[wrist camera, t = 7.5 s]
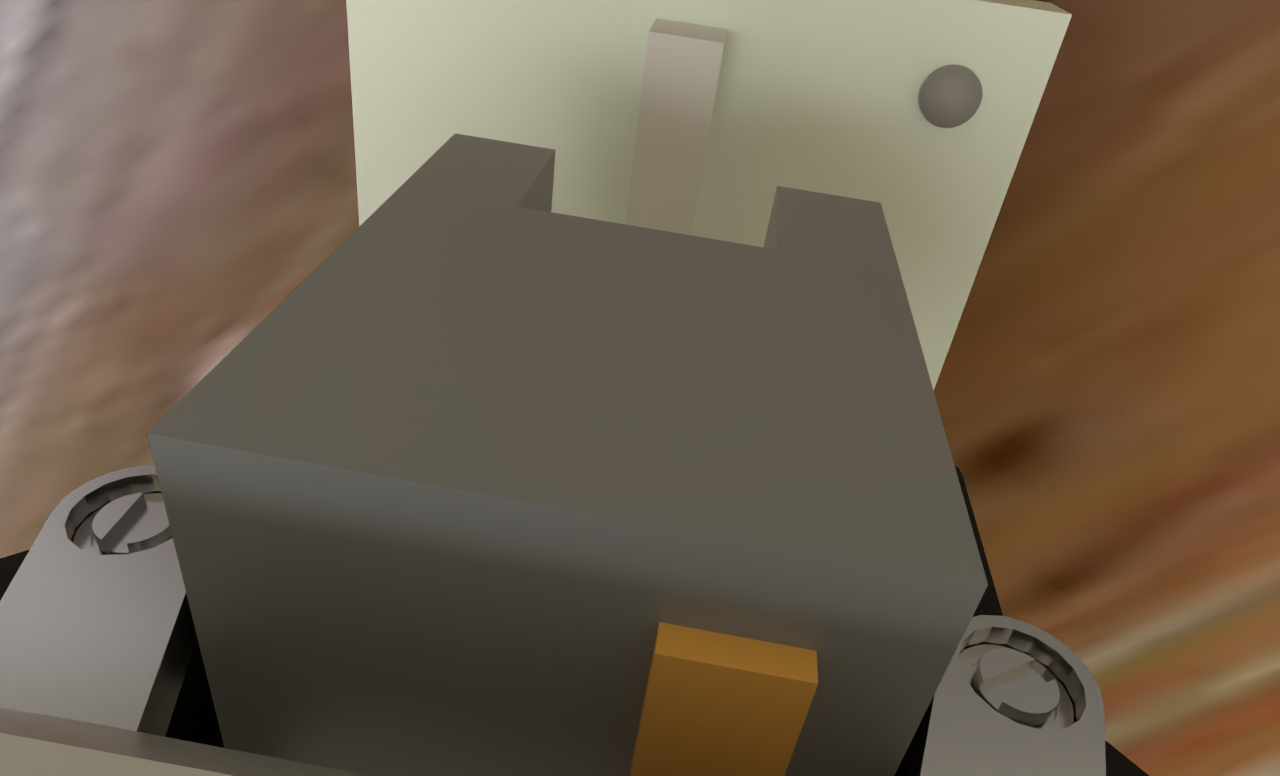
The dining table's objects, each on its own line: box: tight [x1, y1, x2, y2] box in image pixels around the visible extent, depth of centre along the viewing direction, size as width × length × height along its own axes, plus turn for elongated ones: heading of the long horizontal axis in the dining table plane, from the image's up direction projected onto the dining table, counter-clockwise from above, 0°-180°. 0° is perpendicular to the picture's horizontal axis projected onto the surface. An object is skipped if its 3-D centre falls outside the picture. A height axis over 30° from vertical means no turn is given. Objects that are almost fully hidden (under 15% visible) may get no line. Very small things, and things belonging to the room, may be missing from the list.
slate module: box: [147, 133, 988, 776], centre depth 9 cm, size 6×5×6 cm
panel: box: [346, 0, 1072, 391], centre depth 19 cm, size 20×12×2 cm, turn 173°
